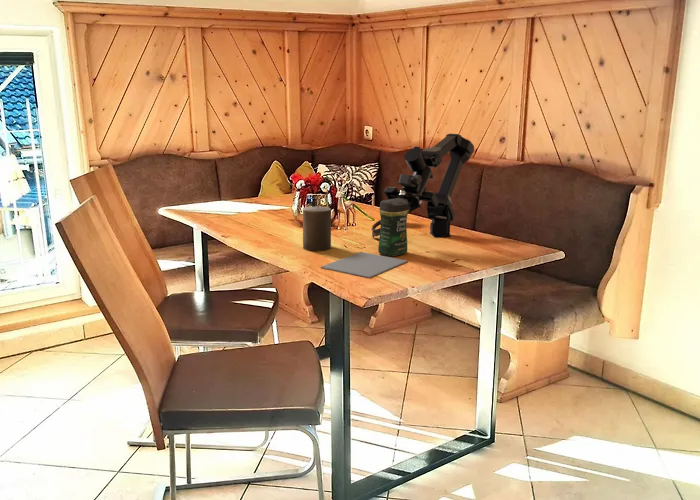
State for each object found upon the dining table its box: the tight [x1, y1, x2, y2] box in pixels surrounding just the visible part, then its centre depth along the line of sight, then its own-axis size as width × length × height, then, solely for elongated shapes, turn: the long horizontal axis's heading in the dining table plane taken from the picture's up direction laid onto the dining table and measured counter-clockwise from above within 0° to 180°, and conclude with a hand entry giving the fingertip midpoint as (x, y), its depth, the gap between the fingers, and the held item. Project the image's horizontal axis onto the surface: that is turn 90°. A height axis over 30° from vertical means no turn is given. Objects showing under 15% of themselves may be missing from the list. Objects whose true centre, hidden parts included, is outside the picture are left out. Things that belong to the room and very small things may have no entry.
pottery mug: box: [370, 219, 381, 239], centre depth 237 cm, size 12×10×8 cm
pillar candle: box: [302, 204, 332, 252], centre depth 221 cm, size 10×10×15 cm
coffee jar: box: [377, 198, 409, 257], centre depth 213 cm, size 10×8×19 cm
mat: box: [320, 251, 409, 279], centre depth 203 cm, size 22×18×1 cm
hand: (401, 216), depth 216 cm, fingers closed
